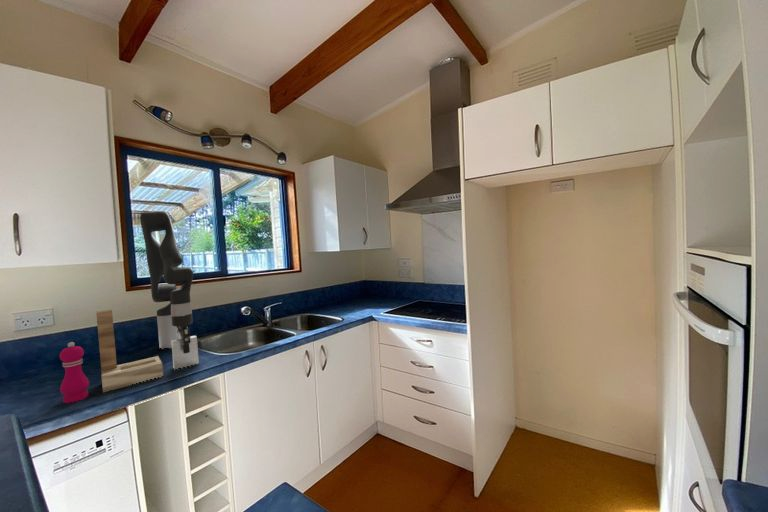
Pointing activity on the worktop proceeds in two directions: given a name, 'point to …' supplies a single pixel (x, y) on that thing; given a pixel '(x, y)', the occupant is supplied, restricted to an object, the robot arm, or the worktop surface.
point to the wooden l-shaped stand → (123, 373)
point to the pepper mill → (73, 374)
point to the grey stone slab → (187, 358)
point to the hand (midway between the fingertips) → (184, 350)
